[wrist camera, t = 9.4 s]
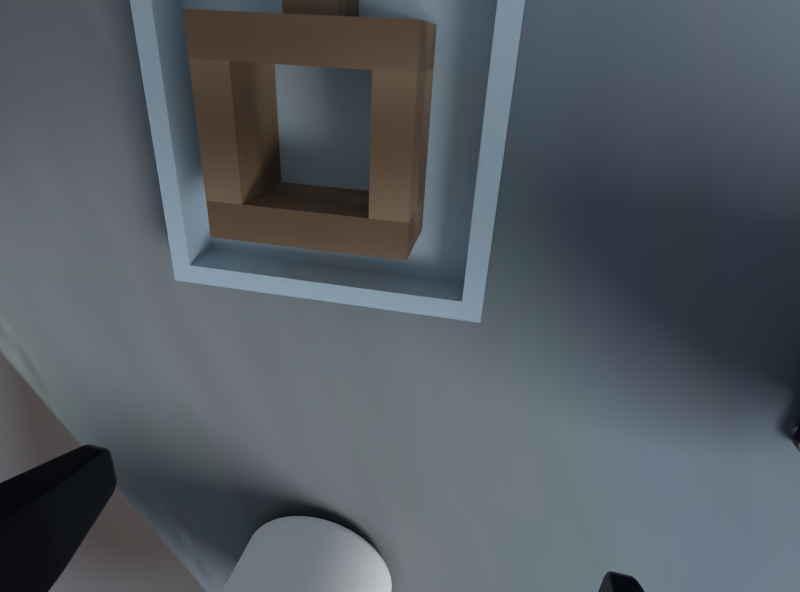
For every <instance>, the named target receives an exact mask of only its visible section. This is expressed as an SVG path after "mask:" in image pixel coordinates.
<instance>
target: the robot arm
mask: <svg viewBox="0 0 800 592" xmlns="http://www.w3.org/2000/svg"><path fill="white" fill-rule="evenodd" d="M793 443H794V445H795V447H796V448H797V449H798V451H799V452H800V425H799V427H798V429H797V431H796V433H795V434H794V436H793ZM116 483H117V478H116V474H115V470H114V465H113V461H112V457H111V453H110V451H109V450H108V449H106V448H103V447H99V446H95V445H84V446H81V447H79V448H77V449H74V450H72V451H70V452H68V453H66V454H63V455H61V456H59V457H57V458H55V459H52V460H50V461H48V462H46V463H44V464H41V465H39V466H37V467H35V468H32V469H30V470H28V471H26V472H24V473H21V474H19V475H17V476H15V477H13V478H10V479H8V480H6V481H4V482H2V483H0V592H48V591H49V590H50V589H51V587H52V586H53V585H54V583H55V582H56V581H57V579H58V578H59V576H60V575H61V574H62V572H63V571H64V569H65V568H66V566H67V565H68V563H69V562H70V560H71V559H72V557H73V556H74V554H75V553H76V551H77V550H78V548H79V546H80V545H81V543H82V542H83V540H84V539H85V537H86V535H87V534H88V532H89V531H90V529H91V527H92V526H93V524H94V522H95V521H96V520H97V518H98V516H99V515H100V513H101V512H102V510H103V508H104V507H105V505H106V503H107V502H108V501H109V499H110V497H111V496H112V494H113V492H114V490H115V487H116ZM598 592H644V590H643V589H642V587H641V586H640V584H639V583H638V581H637V580H636V579H635V578H633V577H632V576H629V575H625V574H621V573H617V572H613V571H609V572H607V573H606V575H605V576H604V579H603V581H602V584H601V586H600V588H599V591H598Z"/></svg>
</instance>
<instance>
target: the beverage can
mask: <svg viewBox="0 0 800 592" xmlns="http://www.w3.org/2000/svg"><path fill="white" fill-rule="evenodd" d="M391 589H392V583H391V577H390V573H389V570H388V568H387V566H386V564H385V562H384V560H383V559H382V557H381V556H380V555H379V553H378V552H377V551H376V550H375V549H374V548H373V547H372V546H371V545H370V544H369V543H368V542H367V541H366V540H364V539H363V538H362V537H360V536H359V535H357V534H356V533H354V532H352V531H351V530H349V529H347V528H345V527H343V526H341V525H338V524H336V523H333V522H330V521H327V520H324V519H319V518H314V517H307V516H289V517H282V518H278V519H275V520H272V521H270V522H268V523H266V524H264V525H263V526H261V527H260V528H259V529H258V530H257V531H256V532H255V533H254V534H253V536H252V537H251V539H250V541H249V543H248V545H247V546H246V548H245V550H244V552H243V554H242V556H241V558H240V560H239V561H238V563H237V565H236V567H235V569H234V571H233V573H232V575H231V576H230V578H229V580H228V582H227V584H226V586H225V588H224V589H223V591H222V592H391Z"/></svg>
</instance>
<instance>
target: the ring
mask: <svg viewBox="0 0 800 592" xmlns="http://www.w3.org/2000/svg"><path fill="white" fill-rule="evenodd" d="M282 6H283V13H266V12H245V11H223V10H202V9H182V10H183V18H184V27H185V35H186V43H187V51H188V59H189V67H190V75H191V83H192V91H193V99H194V107H195V115H196V123H197V131H198V139H199V147H200V155H201V164H202V172H203V180H204V188H205V196H206V204H207V212H208V220H209V228H210V236H211V237H213V238H221V239H230V240H238V241H246V242H254V243H262V244H271V245H279V246H287V247H295V248H304V249H312V250H320V251H328V252H336V253H345V254H353V255H361V256H369V257H378V258H386V259H394V260H402V261H407V259H408V257H409V255H410V253H411V251H412V249H413V247H414V245H415V243H416V241H417V239H418V237H419V235H420V233H421V231H422V224H423V210H424V196H425V182H426V168H427V154H428V140H429V126H430V112H431V98H432V84H433V70H434V56H435V42H436V28H437V25H435V24H432V23H429V22H426V21H423V20H415V19H394V18H373V17H359V0H282ZM275 64H283V65H298V66H314V67H330V68H346V69H361V70H372V89H371V134H370V180H369V191H365V190H355V189H346V188H336V187H326V186H316V185H306V184H296V183H286V182H281V166H280V148H279V130H278V112H277V94H276V76H275Z"/></svg>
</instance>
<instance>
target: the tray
mask: <svg viewBox="0 0 800 592" xmlns="http://www.w3.org/2000/svg"><path fill="white" fill-rule="evenodd" d="M130 5H131V11H132V17H133V23H134V29H135V36H136V42H137V48H138V54H139V60H140V67H141V73H142V79H143V85H144V91H145V97H146V104H147V110H148V116H149V122H150V128H151V135H152V141H153V147H154V153H155V159H156V165H157V172H158V178H159V184H160V190H161V196H162V202H163V209H164V215H165V221H166V227H167V233H168V240H169V246H170V252H171V258H172V264H173V270H174V277H175V280H176V281H184V282H191V283H198V284H205V285H212V286H219V287H227V288H234V289H241V290H248V291H255V292H263V293H270V294H277V295H284V296H291V297H299V298H306V299H313V300H320V301H327V302H334V303H342V304H349V305H356V306H363V307H370V308H378V309H385V310H392V311H399V312H406V313H413V314H421V315H428V316H435V317H442V318H449V319H457V320H464V321H471V322H478V323H480V322H481V315H482V308H483V300H484V293H485V286H486V279H487V272H488V264H489V257H490V250H491V243H492V236H493V228H494V221H495V214H496V207H497V200H498V192H499V185H500V178H501V171H502V164H503V156H504V149H505V142H506V135H507V128H508V120H509V113H510V106H511V99H512V92H513V84H514V77H515V70H516V63H517V56H518V48H519V41H520V34H521V27H522V20H523V12H524V5H525V0H359V17H373V18H394V19H415V20H423V21H426V22H429V23H432V24H435V25H437V28H436V42H435V56H434V70H433V84H432V98H431V112H430V126H429V140H428V154H427V168H426V182H425V196H424V210H423V224H422V231H421V233H420V235H419V237H418V239H417V241H416V243H415V245H414V247H413V249H412V251H411V253H410V255H409V257H408V259H407V261H402V260H394V259H386V258H378V257H369V256H361V255H353V254H345V253H336V252H328V251H320V250H312V249H304V248H295V247H287V246H279V245H271V244H262V243H254V242H246V241H238V240H230V239H221V238H213V237H211V236H210V228H209V220H208V212H207V204H206V196H205V188H204V180H203V172H202V164H201V155H200V147H199V139H198V131H197V123H196V115H195V107H194V99H193V91H192V83H191V75H190V67H189V59H188V51H187V43H186V35H185V27H184V18H183V10H182V9H202V10H223V11H245V12H266V13H283V6H282V0H130ZM275 76H276V94H277V112H278V130H279V148H280V166H281V182H286V183H296V184H306V185H316V186H326V187H336V188H346V189H355V190H365V191H369V180H370V134H371V89H372V70H361V69H346V68H330V67H314V66H298V65H283V64H275Z"/></svg>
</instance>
